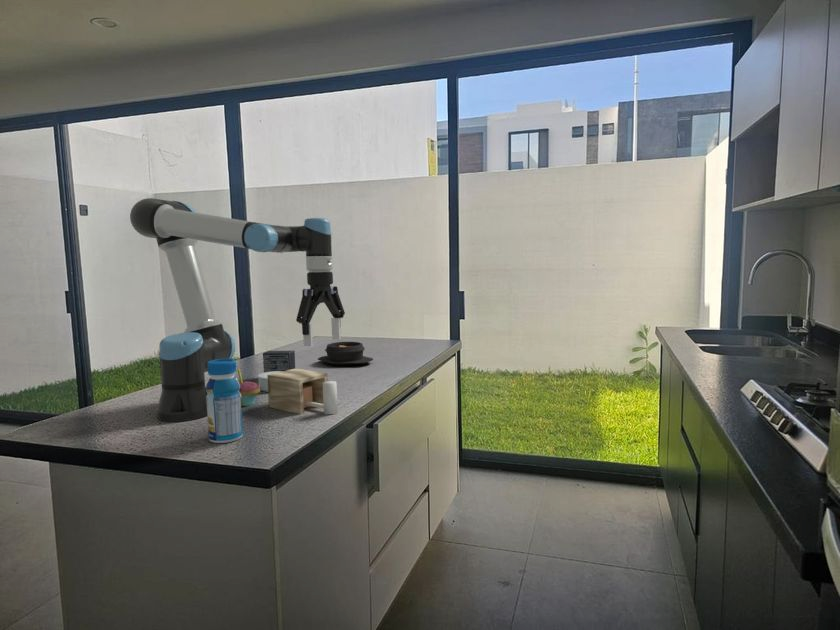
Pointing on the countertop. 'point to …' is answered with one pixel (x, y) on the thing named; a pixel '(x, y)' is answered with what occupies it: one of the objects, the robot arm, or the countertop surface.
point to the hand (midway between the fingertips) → (322, 342)
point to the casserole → (345, 353)
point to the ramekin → (265, 380)
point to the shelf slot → (294, 389)
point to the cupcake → (248, 391)
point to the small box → (278, 360)
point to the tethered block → (328, 397)
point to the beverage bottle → (223, 402)
